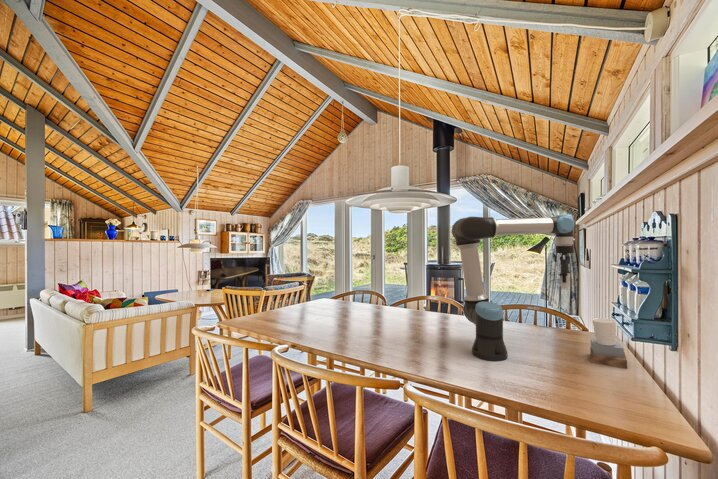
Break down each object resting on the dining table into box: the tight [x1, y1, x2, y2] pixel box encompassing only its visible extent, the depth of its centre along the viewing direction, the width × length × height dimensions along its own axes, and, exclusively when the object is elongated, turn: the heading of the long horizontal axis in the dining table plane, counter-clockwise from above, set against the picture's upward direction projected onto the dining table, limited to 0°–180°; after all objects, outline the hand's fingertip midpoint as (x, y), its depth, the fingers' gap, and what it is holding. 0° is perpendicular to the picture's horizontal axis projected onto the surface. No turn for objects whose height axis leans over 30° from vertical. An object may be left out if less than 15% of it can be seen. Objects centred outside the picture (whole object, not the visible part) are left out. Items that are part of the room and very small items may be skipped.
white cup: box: [592, 317, 617, 346], centre depth 136 cm, size 8×8×10 cm
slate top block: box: [590, 338, 625, 358], centre depth 137 cm, size 10×10×4 cm
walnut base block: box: [589, 346, 628, 370], centre depth 136 cm, size 12×12×4 cm
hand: (565, 287), depth 158 cm, fingers open, 13 cm apart
